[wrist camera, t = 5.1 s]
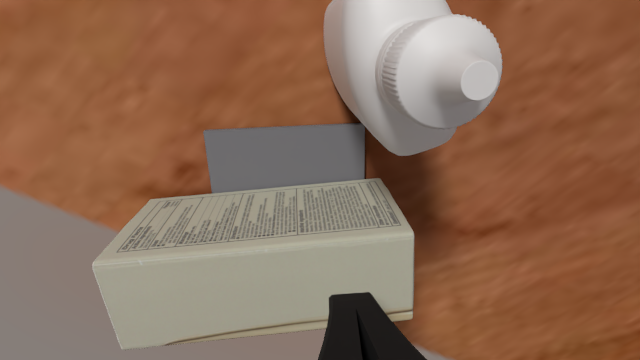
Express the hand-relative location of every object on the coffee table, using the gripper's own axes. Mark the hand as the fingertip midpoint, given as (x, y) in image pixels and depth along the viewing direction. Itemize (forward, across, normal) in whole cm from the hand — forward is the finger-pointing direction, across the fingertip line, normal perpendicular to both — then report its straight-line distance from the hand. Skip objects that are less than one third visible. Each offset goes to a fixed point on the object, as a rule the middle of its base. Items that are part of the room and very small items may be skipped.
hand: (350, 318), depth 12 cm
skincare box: (+5, -3, 0) cm, 6 cm away
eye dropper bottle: (+9, -2, -8) cm, 12 cm away
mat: (+9, +2, -2) cm, 9 cm away
